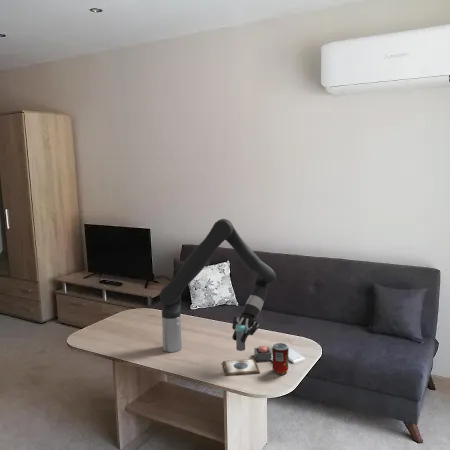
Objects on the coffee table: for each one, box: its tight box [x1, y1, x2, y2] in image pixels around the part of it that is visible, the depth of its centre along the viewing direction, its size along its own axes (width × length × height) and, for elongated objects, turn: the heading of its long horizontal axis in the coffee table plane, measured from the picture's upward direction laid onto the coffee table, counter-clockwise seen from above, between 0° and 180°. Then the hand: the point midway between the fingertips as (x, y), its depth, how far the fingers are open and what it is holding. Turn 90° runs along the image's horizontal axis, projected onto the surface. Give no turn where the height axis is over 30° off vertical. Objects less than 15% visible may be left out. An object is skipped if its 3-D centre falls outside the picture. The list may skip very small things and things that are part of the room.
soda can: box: [272, 342, 290, 375], centre depth 199 cm, size 7×7×12 cm
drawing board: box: [222, 358, 261, 377], centre depth 203 cm, size 15×13×1 cm
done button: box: [257, 345, 268, 353], centre depth 213 cm, size 4×4×2 cm
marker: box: [235, 324, 246, 352], centre depth 201 cm, size 4×4×11 cm
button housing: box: [253, 346, 273, 362], centre depth 213 cm, size 7×7×4 cm
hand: (238, 340), depth 200 cm, fingers closed on marker, 4 cm apart
